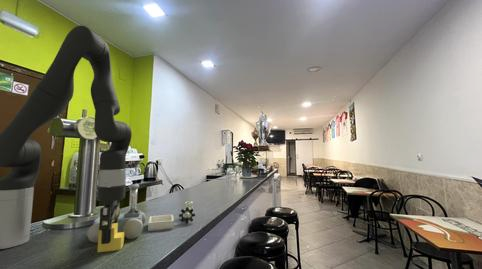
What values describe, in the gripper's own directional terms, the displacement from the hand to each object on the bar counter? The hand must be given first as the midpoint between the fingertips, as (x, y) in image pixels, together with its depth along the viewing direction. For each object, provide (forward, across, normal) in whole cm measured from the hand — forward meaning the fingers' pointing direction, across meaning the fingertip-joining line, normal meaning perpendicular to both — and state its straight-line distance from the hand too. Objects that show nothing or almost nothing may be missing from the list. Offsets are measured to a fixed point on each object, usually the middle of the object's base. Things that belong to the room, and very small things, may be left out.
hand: (109, 237), depth 66 cm
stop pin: (-3, -12, +5) cm, 13 cm away
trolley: (+3, -12, +1) cm, 12 cm away
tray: (+3, -16, +15) cm, 22 cm away
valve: (+3, -22, +26) cm, 34 cm away
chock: (+3, 0, +1) cm, 3 cm away
